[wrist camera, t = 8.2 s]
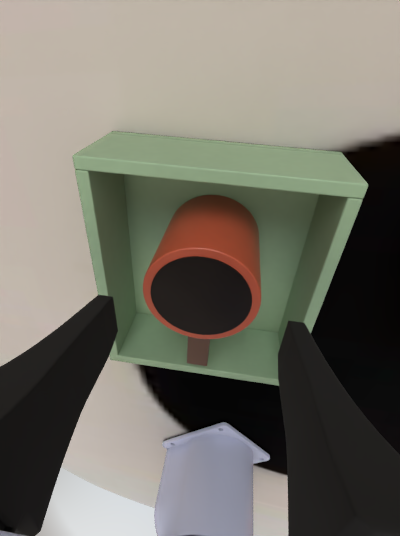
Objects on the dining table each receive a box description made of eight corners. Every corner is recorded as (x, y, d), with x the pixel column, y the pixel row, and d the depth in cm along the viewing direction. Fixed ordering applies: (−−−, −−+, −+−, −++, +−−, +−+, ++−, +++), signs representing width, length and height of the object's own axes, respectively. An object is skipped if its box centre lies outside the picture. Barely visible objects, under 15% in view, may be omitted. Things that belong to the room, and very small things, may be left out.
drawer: (284, 333, 23) (290, 387, 19) (131, 312, 24) (110, 360, 20) (341, 151, 15) (369, 184, 12) (112, 130, 16) (71, 155, 12)
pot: (168, 189, 17) (138, 241, 12) (266, 199, 17) (272, 257, 12) (169, 301, 22) (147, 368, 17) (245, 312, 22) (243, 383, 17)
